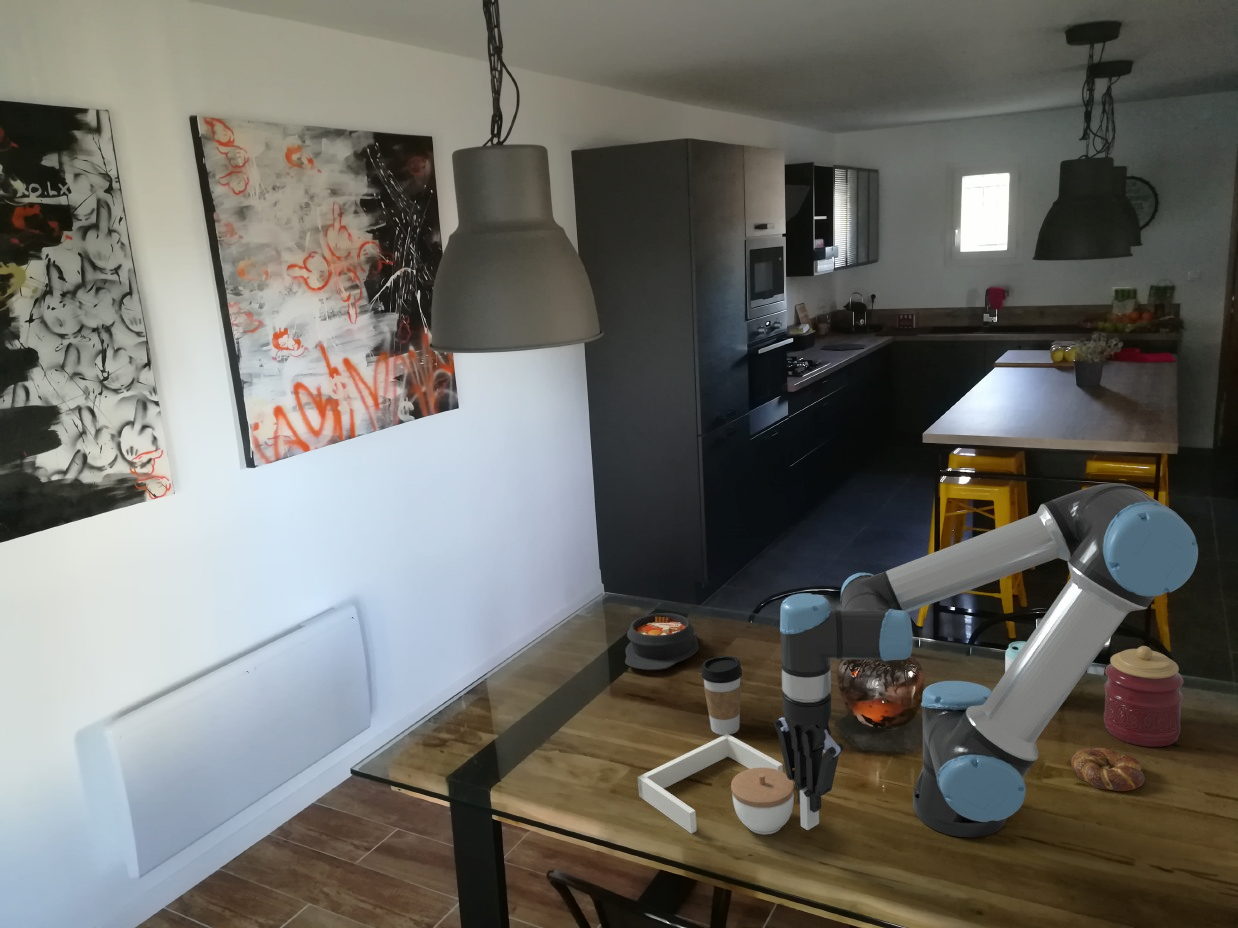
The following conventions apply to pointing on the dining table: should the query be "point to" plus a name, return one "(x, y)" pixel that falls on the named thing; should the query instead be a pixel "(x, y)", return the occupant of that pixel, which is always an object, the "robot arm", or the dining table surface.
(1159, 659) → the canister
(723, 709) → the coffee cup
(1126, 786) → the pretzel
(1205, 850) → the dining table surface
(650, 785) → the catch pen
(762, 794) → the lidded jar
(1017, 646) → the can
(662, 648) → the casserole
